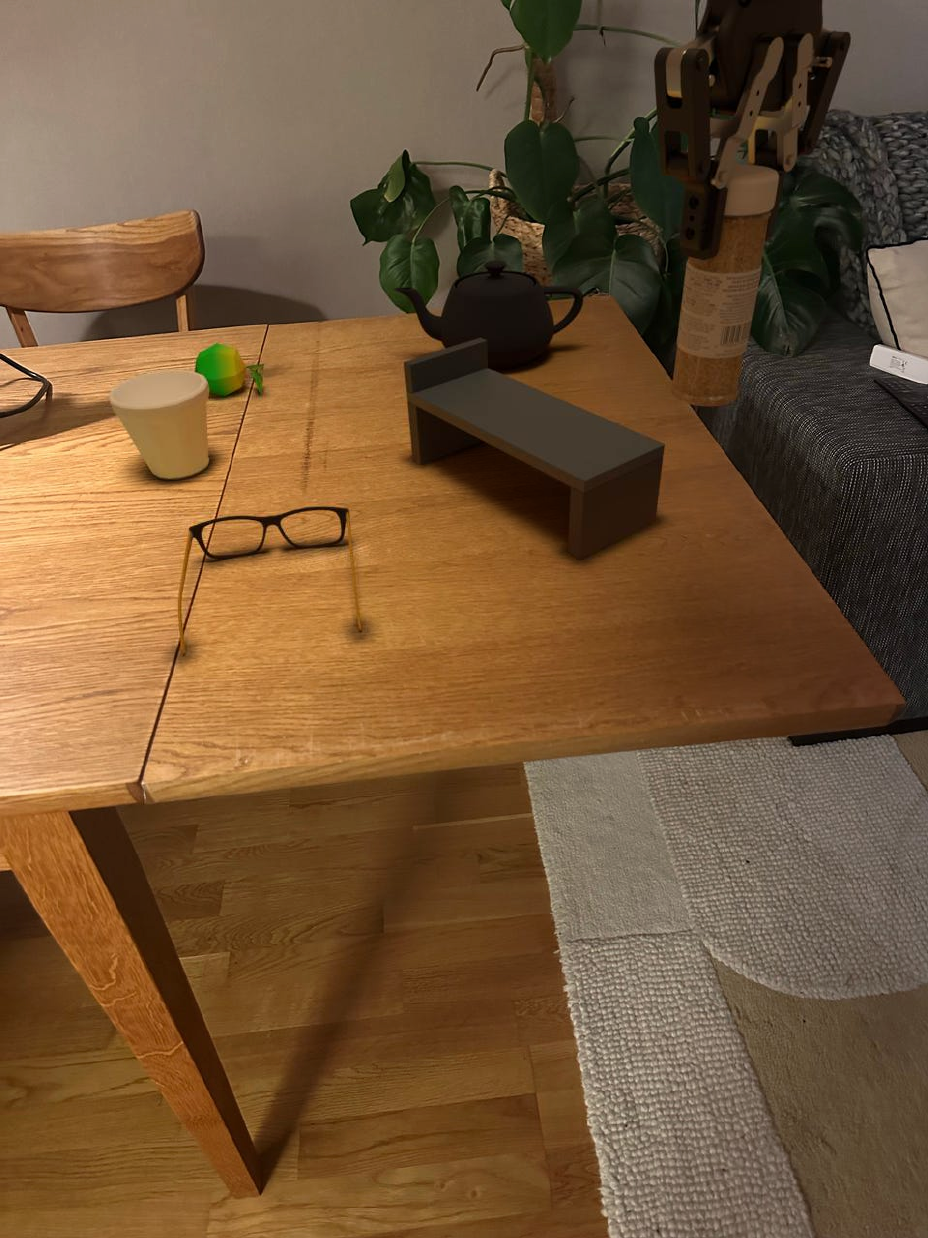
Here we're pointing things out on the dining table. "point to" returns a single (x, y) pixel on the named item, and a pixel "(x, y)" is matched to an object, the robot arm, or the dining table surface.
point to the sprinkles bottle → (724, 294)
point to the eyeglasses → (265, 521)
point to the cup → (166, 420)
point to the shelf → (536, 440)
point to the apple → (225, 369)
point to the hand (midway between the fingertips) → (726, 246)
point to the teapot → (497, 314)
